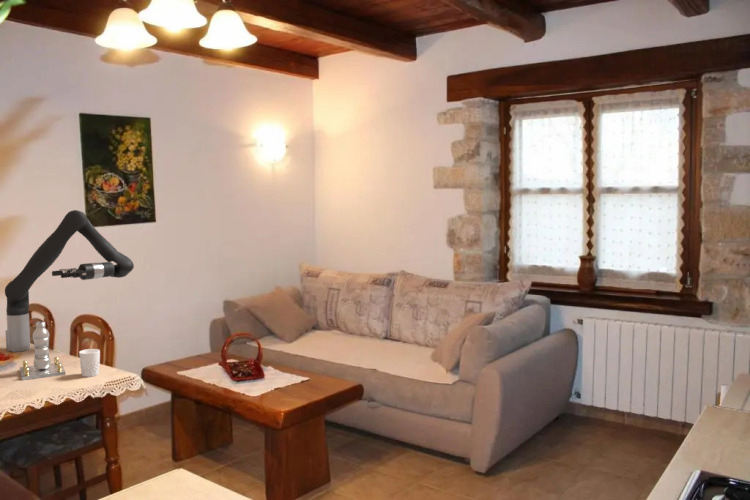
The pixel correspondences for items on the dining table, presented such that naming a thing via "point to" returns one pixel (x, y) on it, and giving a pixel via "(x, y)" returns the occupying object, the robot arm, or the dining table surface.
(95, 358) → the white cup
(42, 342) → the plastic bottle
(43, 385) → the dining table surface
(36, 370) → the plate
